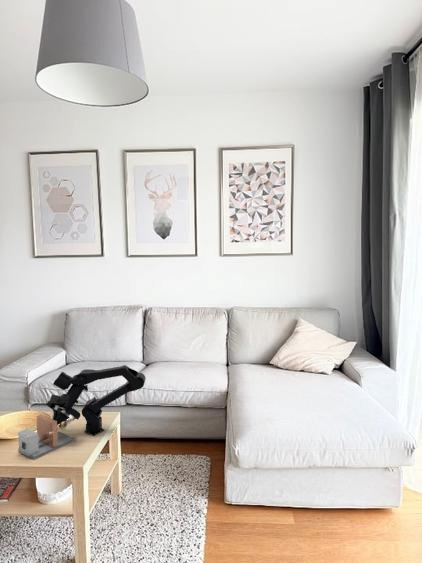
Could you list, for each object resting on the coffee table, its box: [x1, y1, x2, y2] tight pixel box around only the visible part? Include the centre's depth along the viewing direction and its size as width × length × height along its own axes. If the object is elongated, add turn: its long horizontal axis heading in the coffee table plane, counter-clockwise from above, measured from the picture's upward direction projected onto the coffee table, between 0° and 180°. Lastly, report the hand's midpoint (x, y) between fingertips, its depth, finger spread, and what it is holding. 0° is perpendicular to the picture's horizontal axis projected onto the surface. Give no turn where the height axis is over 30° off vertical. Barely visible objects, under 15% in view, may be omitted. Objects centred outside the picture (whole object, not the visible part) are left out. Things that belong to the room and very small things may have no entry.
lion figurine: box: [58, 415, 75, 428], centre depth 183 cm, size 15×5×9 cm, turn 179°
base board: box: [17, 430, 76, 461], centre depth 161 cm, size 19×12×1 cm, turn 146°
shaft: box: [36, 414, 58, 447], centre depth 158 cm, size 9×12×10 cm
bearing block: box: [17, 428, 39, 457], centre depth 154 cm, size 4×8×8 cm, turn 56°
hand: (51, 427), depth 163 cm, fingers closed
